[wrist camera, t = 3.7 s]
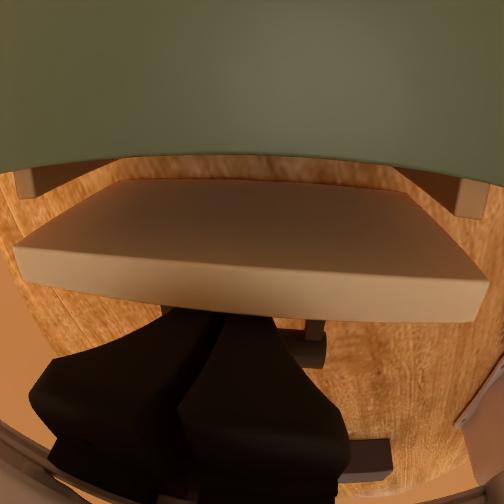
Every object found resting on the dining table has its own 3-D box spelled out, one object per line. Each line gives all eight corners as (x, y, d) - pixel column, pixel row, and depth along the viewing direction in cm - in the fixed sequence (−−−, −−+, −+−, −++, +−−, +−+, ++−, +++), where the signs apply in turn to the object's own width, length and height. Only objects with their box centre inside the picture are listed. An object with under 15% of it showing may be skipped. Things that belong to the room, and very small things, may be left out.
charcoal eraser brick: (380, 450, 22) (383, 480, 19) (297, 451, 23) (295, 483, 20) (389, 438, 21) (393, 470, 18) (301, 440, 22) (298, 474, 19)
